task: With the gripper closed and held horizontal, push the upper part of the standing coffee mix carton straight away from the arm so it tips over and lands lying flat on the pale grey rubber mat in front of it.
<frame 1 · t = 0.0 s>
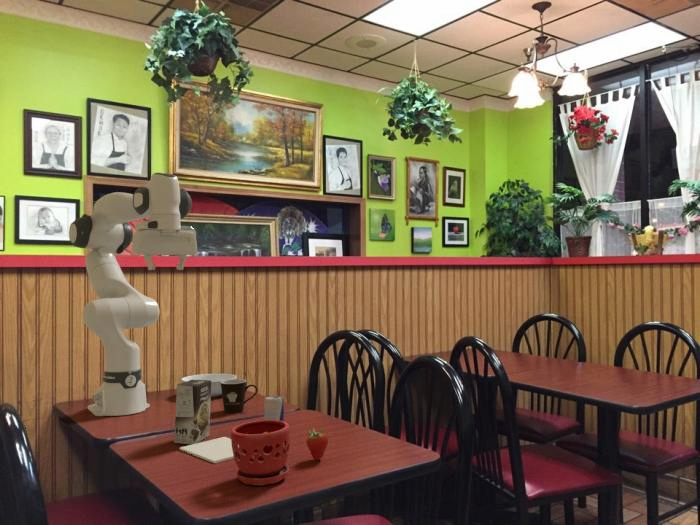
hand: (166, 269, 184), 48 cm above the table, tool pointing down, fingers open, 8 cm apart
energy drink: (274, 441, 166), on the table
coffee box: (192, 440, 168), on the table
coffee mug: (237, 412, 202), on the table
serving bowl: (209, 395, 231), on the table
mat: (219, 450, 158), on the table
fruit: (317, 460, 149), on the table
plant pot: (261, 480, 135), on the table
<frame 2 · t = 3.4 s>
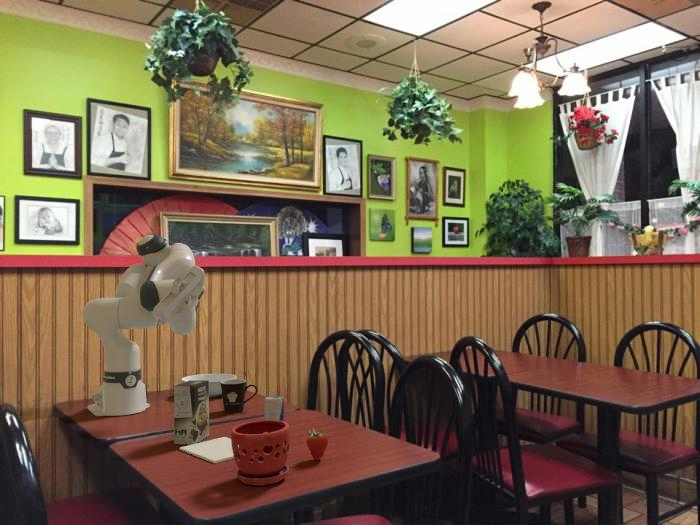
hand: (178, 280, 176), 45 cm above the table, tool pointing upward, fingers closed
nothing on the table moved.
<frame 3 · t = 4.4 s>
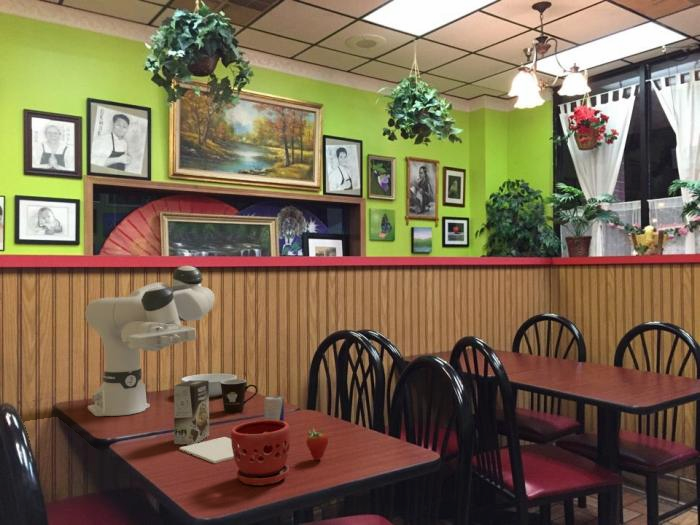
hand: (175, 339, 175), 27 cm above the table, tool horizontal, fingers closed
nothing on the table moved.
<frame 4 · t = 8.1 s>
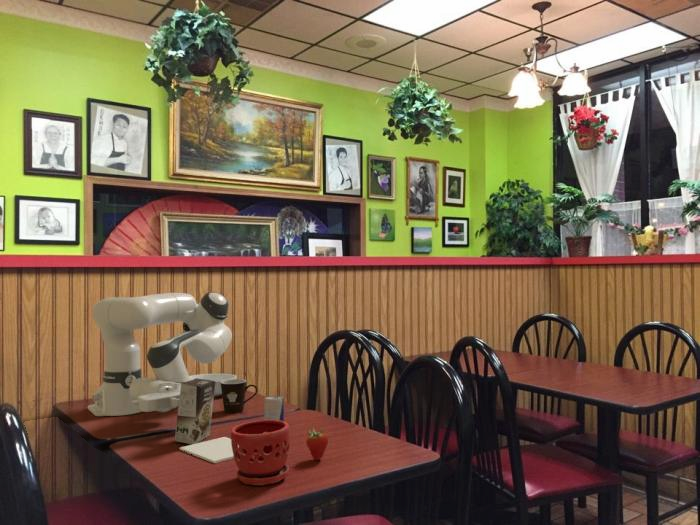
hand: (186, 402, 170), 10 cm above the table, tool horizontal, fingers closed
coffee box: (192, 439, 168), on the table, touching gripper
everything else where it was.
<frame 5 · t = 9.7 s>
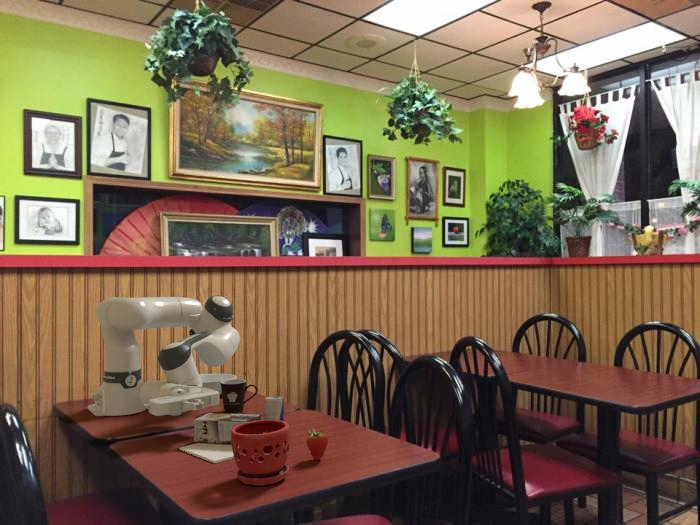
hand: (199, 406, 165), 10 cm above the table, tool horizontal, fingers closed
coffee box: (201, 427, 167), point 4 cm above the table, touching mat
everything else where it was.
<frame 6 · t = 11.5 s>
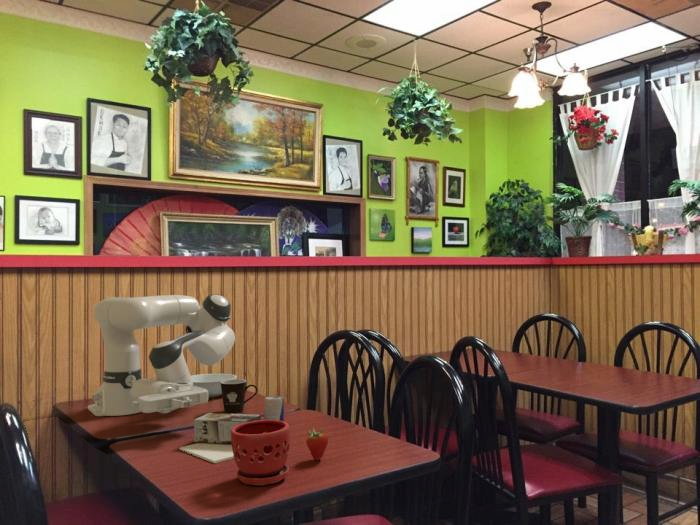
hand: (187, 404, 168), 10 cm above the table, tool horizontal, fingers closed
nothing on the table moved.
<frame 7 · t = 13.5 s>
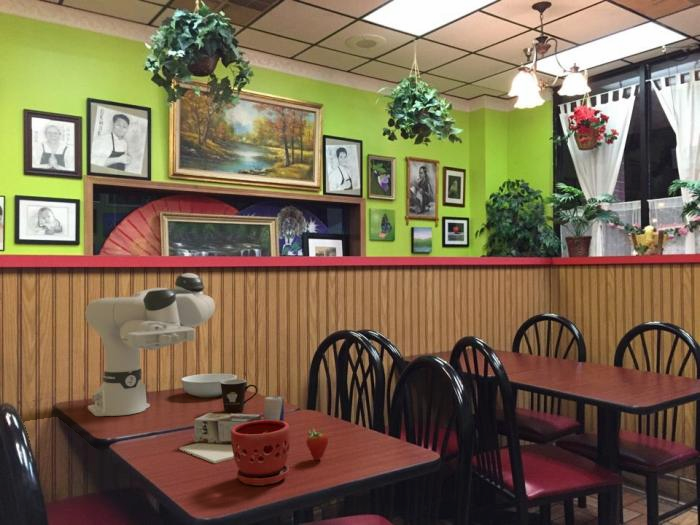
hand: (174, 338, 174), 28 cm above the table, tool horizontal, fingers closed
nothing on the table moved.
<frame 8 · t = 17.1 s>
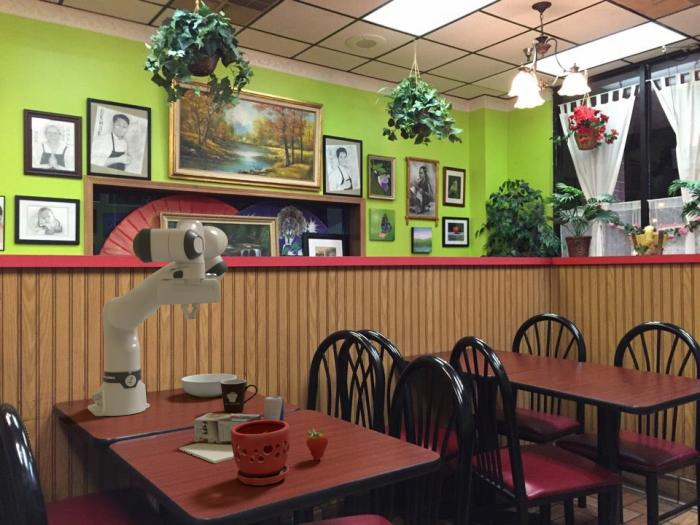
hand: (190, 319, 181), 33 cm above the table, tool pointing down, fingers closed
nothing on the table moved.
at the end: coffee box tilted 90°; coffee box inside the target area (9.9 cm from its centre), point 3.8 cm above the table; coffee box touching mat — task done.
